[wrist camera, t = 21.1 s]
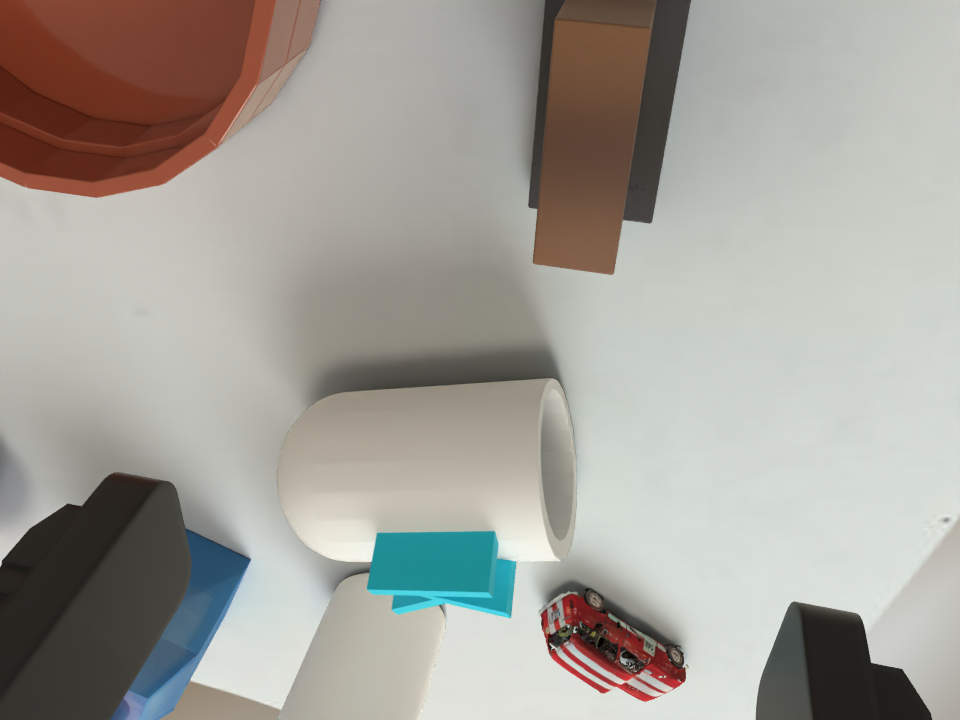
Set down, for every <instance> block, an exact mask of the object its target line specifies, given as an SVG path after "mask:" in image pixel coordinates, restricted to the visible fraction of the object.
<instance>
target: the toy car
mask: <svg viewBox="0 0 960 720" xmlns="http://www.w3.org/2000/svg"><path fill="white" fill-rule="evenodd" d="M588 590H589V589H585V591H586V593H585V595H584V598H583V597H582V596H581V595H580V596H579V595H578V592H571V593H570V591H568V592H567V593H566V594H565V595H563V594H562V593H561V594H560V595H559V596H558V597H555V598H553V599H552V600H551V601H549V603H548V602H547V604H546V605H544V606H543V607H542V609H540V610H539V615H540V616H541V618H542V621H541V626H542V631H543V632H544V635H545V638H546V643H547V647H548V651H549V654H550V656H551V657H552V659H553V660H554V661H556V662H557V663H558V664H559V665H561V666H562V667H563V668H565V669H566V670H567V671H569V672H570V673H572V674H573V675H575V676H577V677H578V678H580V679H581V680H583V681H584V682H586V683H587V684H589V685H590V686H592V687H593V688H595V689H597V690H598V691H599V692H600V693H606V692H609V691H610V690H612V689H614V688H615V687H618V688H620V689H622V690H623V691H625V692H627V693H628V694H630V695H632V696H634V697H635V698H637V699H639V700H642V701H645V702H647V701H649V700H652V699H655V698H657V697H659V696H661V695H663V694H665V693H667V692H669V691H671V690H673V689H675V688H677V687H678V686H680V685H681V684H682V683H683V682H685V679H686V670H687V669H688V665H687V664H686V666H687V668H686V670H685V668H683V667H682V666H683V664H684V657H683V653H682V652H681V651H680V650H678V649H677V646H679V645H675V646H674V645H671V644H668V645H670V647H668V649H667V652H666V649H665V647H664V646H668V645H663V644H661V643H660V642H658V641H656V640H655V639H652V638H651V637H650V636H649V637H648V636H647V634H646V635H644V634H643V633H641V632H639V631H637V630H636V629H634V628H632V627H631V628H632V629H633V630H634V631H635V632H636V634H637V633H638V634H639V635H640V636H639V635H638V634H637V635H636V634H635V633H633V631H632V630H630V627H629V626H630V625H629V626H628V625H627V624H626V623H625V622H624V621H623V620H621V619H619V618H617V617H616V616H614V615H613V614H611V612H609V611H608V610H606V611H608V613H605V611H604V598H603V597H602V596H600V595H599V594H596V592H595V591H593V590H592V589H590V591H588ZM584 600H585V601H584ZM602 611H603V613H605V614H606V615H605V614H602ZM581 621H582V623H581V625H582V628H581V627H580V625H579V624H580V623H579V622H581ZM606 622H607V623H606ZM599 623H602V625H600V624H599ZM605 623H606V624H605ZM567 624H569V625H570V627H569V628H568V627H567V626H568V625H567ZM603 624H604V625H603ZM575 626H578V629H577V628H576V629H575V630H576V631H577V633H573V630H574V627H575ZM584 626H585V627H584ZM620 626H621V627H622V629H623V630H622V631H621V628H620ZM634 627H635V626H634ZM565 629H566V630H565ZM569 634H570V635H569ZM560 635H561V636H560ZM637 636H638V637H639V638H640V639H638V638H637ZM641 636H642V637H643V638H642V637H641ZM635 637H636V638H635ZM585 641H586V642H585ZM549 643H551V644H552V645H553V646H555V647H556V648H557V649H555V648H554V649H552V651H551V648H552V647H551V645H550V644H549ZM609 645H610V646H609ZM596 647H597V648H596ZM679 647H681V646H679ZM624 650H627V651H626V652H624V653H623V654H622V655H621V652H622V651H624ZM667 654H668V656H667ZM620 655H621V656H622V657H623V658H627V659H628V658H629V659H638V660H639V661H641V663H642V664H640V663H639V664H638V665H637V664H636V663H637V662H639V661H638V660H635V661H636V662H635V663H634V664H632V663H631V665H630V666H629V662H627V661H626V664H627V663H628V665H624V664H623V663H621V661H620ZM673 657H674V658H673ZM646 659H647V660H648V661H647V662H646V663H645V660H646ZM669 659H670V660H671V661H670V660H669ZM618 663H619V664H618ZM634 665H635V668H634ZM639 665H640V667H642V666H643V667H642V668H640V669H639ZM628 666H629V668H630V667H632V666H633V668H630V669H629V668H628ZM684 667H685V666H684ZM682 668H683V669H682ZM645 669H647V670H649V671H651V672H652V674H648V673H646V672H644V670H645ZM634 671H637V672H636V673H635V672H634ZM653 673H654V674H653ZM658 676H662V677H664V676H666V677H665V678H659V677H658ZM678 680H679V681H681V682H679V681H678ZM632 688H633V689H632ZM634 689H635V690H634ZM637 690H638V691H637Z"/></svg>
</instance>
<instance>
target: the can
mask: <svg viewBox="0 0 960 720" xmlns="http://www.w3.org/2000/svg"><path fill="white" fill-rule="evenodd" d="M369 573H370V572H364V573H359V574H356V575H354V576H350V577H348V578H346V579H345V580H343V581H342V582H341V583H340V584H339V585H338V586H337V588H336V590H335V592H334V593H333V596H332V598H331V600H330V602H329V604H328V606H327V609H326V611H325V613H324V615H323V617H322V620H321V622H320V624H319V626H318V629H317V631H316V633H315V635H314V638H313V640H312V642H311V644H310V647H309V649H308V651H307V653H306V656H305V658H304V660H303V662H302V665H301V667H300V669H299V671H298V674H297V676H296V678H295V681H294V683H293V685H292V687H291V690H290V692H289V694H288V696H287V699H286V701H285V703H284V706H283V708H282V710H281V712H280V715H279V717H278V720H420V717H421V714H422V710H423V707H424V703H425V700H426V697H427V693H428V690H429V686H430V683H431V679H432V676H433V672H434V669H435V665H436V662H437V658H438V655H439V651H440V648H441V644H442V641H443V637H444V633H445V627H446V622H445V617H444V614H443V612H442V610H441V608H440V606H439V605H437V606H433V607H429V608H425V609H420V610H416V611H412V612H408V613H403V614H399V615H397V614H396V613H395V612H393V611H392V610H391V609H392V603H393V597H394V595H373V594H371V593H370V592H369V591H368V590H367V584H368V579H369Z"/></svg>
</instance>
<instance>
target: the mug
mask: <svg viewBox="0 0 960 720" xmlns="http://www.w3.org/2000/svg"><path fill="white" fill-rule="evenodd" d="M277 485H278V494H279V499H280V503H281V507H282V510H283V512H284V515H285V517H286V519H287V521H288V523H289V525H290V526H291V528H292V529H293V531H294V533H295V534H296V535H297V536H298V537H299V538H300V539H301V540H302V541H303V542H304V543H305V544H306V545H307V546H308V547H309V548H311V549H312V550H314V551H315V552H317V553H319V554H320V555H322V556H325V557H327V558H330V559H333V560H339V561H346V562H371V568H370V573H369V579H368V584H367V590H368V591H369V592H370V593H371V594H373V595H394V597H393V603H392V609H391V610H392V611H393V612H395V613H396V614H397V615H399V614H403V613H408V612H412V611H416V610H420V609H425V608H429V607H433V606H437V605H441V604H446V603H447V604H451V605H456V606H460V607H464V608H469V609H473V610H477V611H482V612H486V613H490V614H495V615H499V616H503V617H507V618H511V612H512V601H513V591H514V580H515V570H516V561H561V560H563V559H565V558H566V557H567V555H568V552H569V550H570V548H571V545H572V539H573V534H574V529H575V518H576V506H577V472H576V453H575V444H574V436H573V428H572V423H571V417H570V412H569V407H568V404H567V401H566V397H565V394H564V391H563V389H562V387H561V386H560V384H559V382H558V380H555V379H552V378H547V379H532V380H517V381H502V382H487V383H472V384H457V385H442V386H428V387H413V388H398V389H383V390H368V391H353V392H342V393H339V394H333V395H330V396H328V397H325V398H323V399H321V400H319V401H318V402H316V403H314V404H313V405H312V406H310V407H309V408H308V409H306V410H305V411H304V412H303V413H302V414H301V416H300V417H299V418H298V419H297V420H296V421H295V423H294V424H293V426H292V427H291V429H290V430H289V432H288V434H287V436H286V439H285V441H284V443H283V445H282V449H281V452H280V456H279V461H278V471H277Z"/></svg>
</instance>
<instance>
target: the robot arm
mask: <svg viewBox="0 0 960 720" xmlns="http://www.w3.org/2000/svg"><path fill="white" fill-rule="evenodd" d="M191 568H192V560H191V553H190V549H189V544H188V540H187V535H186V531H185V526H184V521H183V517H182V512H181V508H180V503H179V499H178V494H177V491H176V488H175V486H174V485H173V484H172V483H171V482H168V481H163V480H157V479H152V478H147V477H141V476H136V475H131V474H125V473H120V472H116V473H113V474H111V475H109V476H108V477H106V478H105V479H104V480H103V481H102V482H101V484H100V485H99V486H98V487H97V489H96V490H95V491H94V492H93V493H92V495H91V496H90V497H89V498H88V500H87V501H86V502H85V503H84V504H83V506H77V505H72V504H67V505H65V506H64V507H62V508H61V509H59V510H58V511H56V512H55V513H53V514H52V515H50V516H49V517H47V518H45V519H44V520H42V521H41V522H39V523H38V524H36V525H35V526H33V527H32V528H30V529H29V530H28V531H27V533H26V534H25V535H24V536H23V537H22V538H21V540H20V541H19V542H18V543H17V544H16V545H15V546H14V548H13V549H12V550H11V551H10V552H9V553H8V555H7V556H6V557H5V558H4V559H3V560H2V565H1V567H0V720H110V719H111V718H112V716H113V714H114V713H115V711H116V709H117V708H118V706H119V704H120V703H121V701H122V700H123V698H124V696H125V695H126V693H127V691H128V690H129V688H130V686H131V685H132V683H133V682H134V680H135V678H136V677H137V675H138V673H139V672H140V670H141V668H142V667H143V665H144V663H145V662H146V660H147V659H148V657H149V655H150V654H151V652H152V650H153V649H154V647H155V645H156V644H157V642H158V641H159V639H160V637H161V636H162V634H163V632H164V631H165V629H166V627H167V626H168V624H169V622H170V621H171V619H172V618H173V616H174V614H175V613H176V611H177V609H178V608H179V606H180V604H181V602H182V600H183V598H184V596H185V594H186V591H187V588H188V585H189V581H190V576H191ZM756 720H932V717H931V713H930V712H929V710H928V708H927V707H926V705H925V704H924V702H923V700H922V699H921V698H920V696H919V694H918V693H917V691H916V690H915V688H914V687H913V685H912V684H911V682H910V681H909V679H908V677H907V676H906V674H905V673H904V671H903V670H902V669H899V668H894V667H888V666H883V665H878V664H873V663H871V660H870V655H869V650H868V644H867V639H866V633H865V628H864V624H863V621H862V619H861V617H860V616H859V615H858V614H857V613H852V612H847V611H842V610H836V609H831V608H826V607H820V606H815V605H810V604H805V603H799V602H792V603H791V604H790V606H789V607H788V610H787V612H786V614H785V617H784V620H783V622H782V625H781V627H780V630H779V632H778V635H777V638H776V640H775V643H774V645H773V648H772V650H771V653H770V656H769V658H768V661H767V663H766V666H765V668H764V671H763V674H762V677H761V681H760V685H759V690H758V697H757V706H756Z"/></svg>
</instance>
